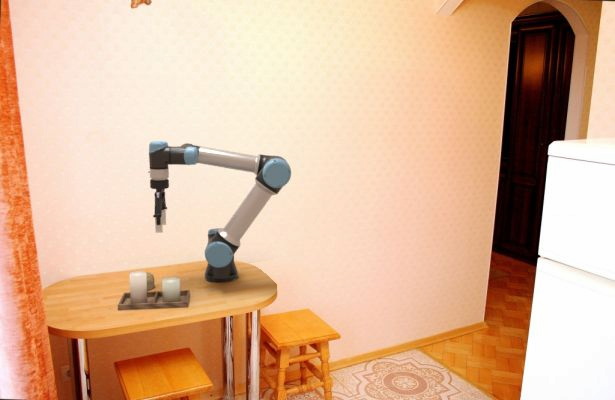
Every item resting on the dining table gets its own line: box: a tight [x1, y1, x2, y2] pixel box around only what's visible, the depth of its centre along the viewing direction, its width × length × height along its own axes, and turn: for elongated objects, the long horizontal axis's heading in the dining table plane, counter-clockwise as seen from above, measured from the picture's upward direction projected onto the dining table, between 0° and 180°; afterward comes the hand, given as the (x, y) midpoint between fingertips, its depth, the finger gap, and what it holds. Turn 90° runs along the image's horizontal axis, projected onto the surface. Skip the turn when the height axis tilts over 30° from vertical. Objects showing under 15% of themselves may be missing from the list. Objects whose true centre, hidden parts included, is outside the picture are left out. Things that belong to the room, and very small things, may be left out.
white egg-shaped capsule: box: [161, 276, 181, 303], centre depth 208 cm, size 7×7×9 cm
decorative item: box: [145, 271, 155, 292], centre depth 223 cm, size 10×10×10 cm
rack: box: [117, 289, 191, 311], centre depth 208 cm, size 26×13×3 cm, turn 99°
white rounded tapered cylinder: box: [128, 270, 148, 304], centre depth 206 cm, size 6×6×12 cm
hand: (161, 228), depth 221 cm, fingers open, 13 cm apart
